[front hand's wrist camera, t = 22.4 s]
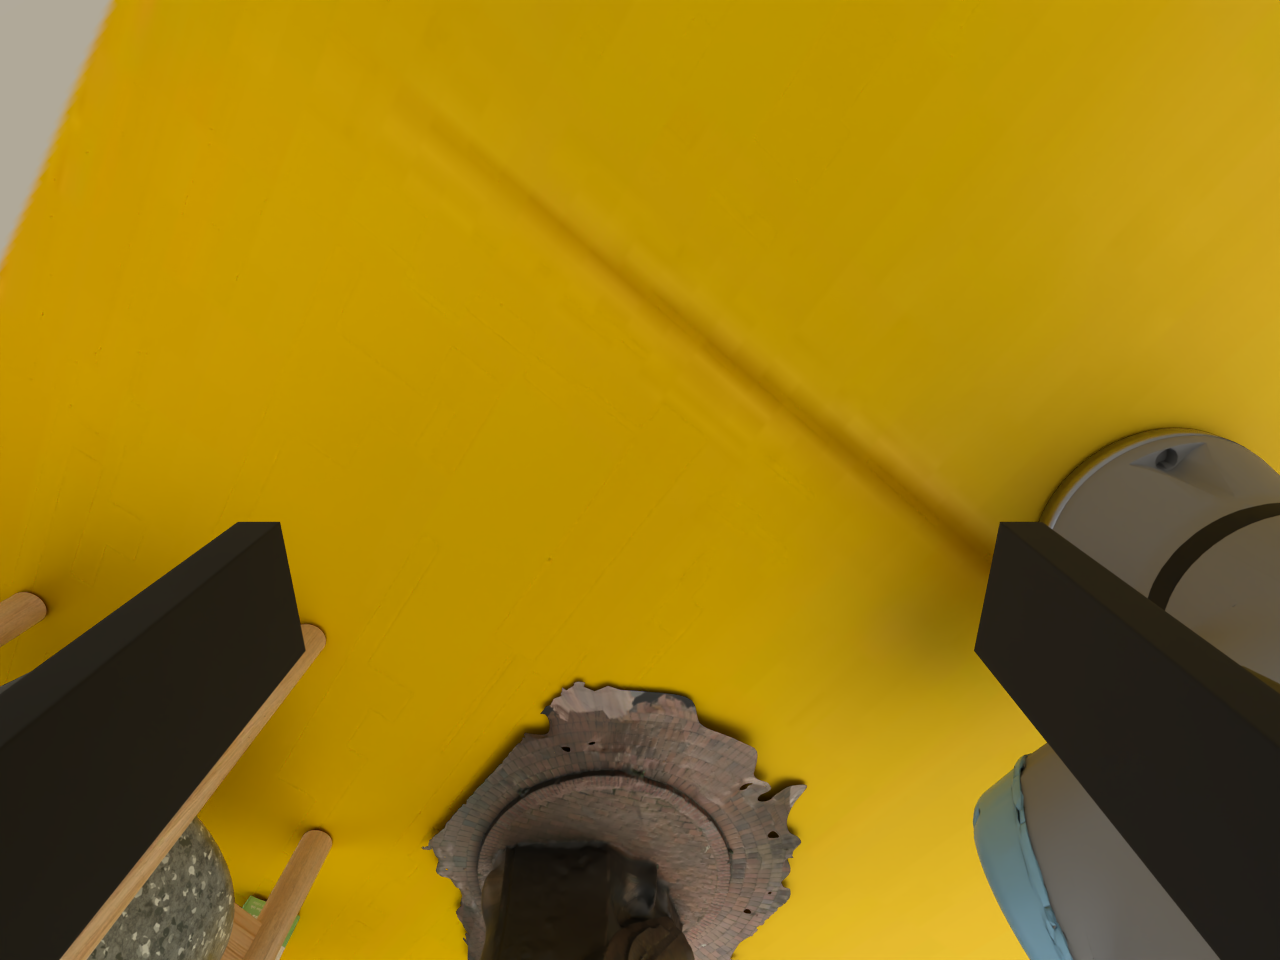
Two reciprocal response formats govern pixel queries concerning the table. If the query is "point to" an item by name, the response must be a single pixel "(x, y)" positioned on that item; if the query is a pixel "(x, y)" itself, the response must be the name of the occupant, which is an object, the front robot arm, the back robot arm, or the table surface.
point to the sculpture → (618, 838)
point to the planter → (193, 861)
